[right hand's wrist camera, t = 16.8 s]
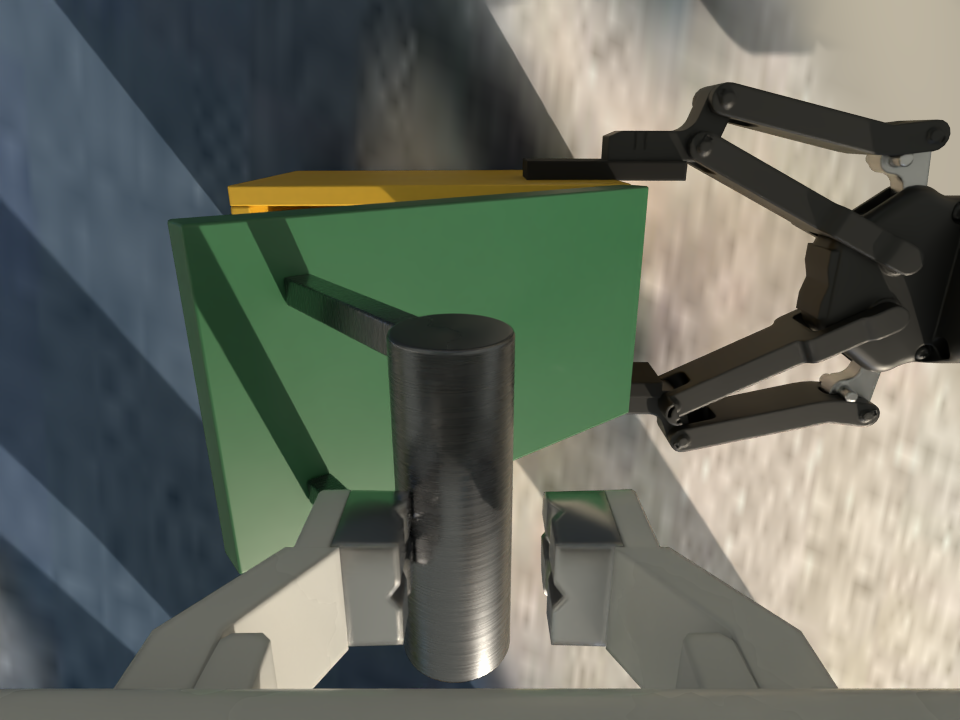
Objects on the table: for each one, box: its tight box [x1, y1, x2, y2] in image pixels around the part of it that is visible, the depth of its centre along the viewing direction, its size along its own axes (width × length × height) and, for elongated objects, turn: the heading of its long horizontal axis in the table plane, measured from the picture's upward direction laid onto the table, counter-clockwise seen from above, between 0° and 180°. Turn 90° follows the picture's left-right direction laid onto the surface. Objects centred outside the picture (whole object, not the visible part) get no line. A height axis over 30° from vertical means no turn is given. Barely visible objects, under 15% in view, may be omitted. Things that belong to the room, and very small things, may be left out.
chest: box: [228, 170, 631, 214], centre depth 29 cm, size 15×9×10 cm, turn 90°
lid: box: [168, 184, 648, 683], centre depth 17 cm, size 16×9×8 cm
